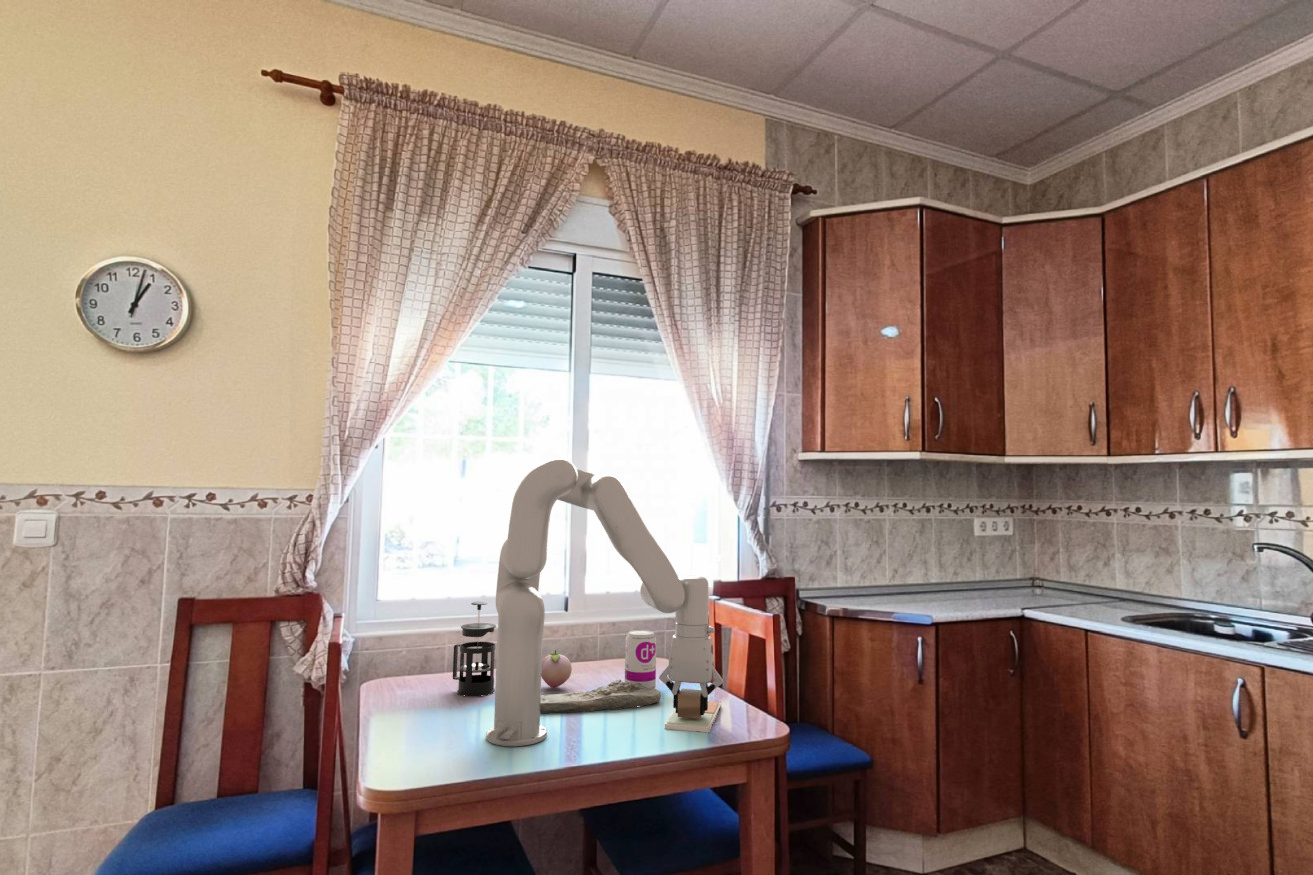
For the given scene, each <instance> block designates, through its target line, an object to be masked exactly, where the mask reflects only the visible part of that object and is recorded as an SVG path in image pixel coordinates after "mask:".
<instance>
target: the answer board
mask: <svg viewBox="0 0 1313 875" xmlns="http://www.w3.org/2000/svg"><path fill="white" fill-rule="evenodd" d="M720 706H721V707H722V702H719V701H710V700H708V710H707V711H705V713H704V715H701V717H700V719H695V718H683V717H678V713H676V708H674V709H673V711H672V713H671V714H670V715H669V716H668V718H667V720H666V721H665V722H664V729H665V730H675V731H685V732H687V731H689V732H696V731H701V732H700V733H708V732H709V733H710V732H711V730H712V728H713V726H712V724H713V725H714V723H715V721H714V720H716V719H717V717H716V715H717V713H718V710H719V708H720ZM720 709H721V708H720ZM718 714H719V713H718ZM717 716H718V715H717ZM715 718H716V719H715ZM713 722H714V723H713ZM711 727H712V728H711ZM710 729H711V730H710Z"/></svg>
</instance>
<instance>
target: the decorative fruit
mask: <svg viewBox="0 0 1313 875" xmlns="http://www.w3.org/2000/svg"><path fill="white" fill-rule="evenodd" d="M572 671H573V667H572V663H571V660H570V659H569V658H568V657H567V656H566V655H563V654H560V653H558V652H557V650H554V652H550V653H549V654H548V655H546V656H545V657H543V658H542V668H541V680H543V682H545V684H546V685H547V686H548V687H550V688H552V689H553V690H554V689H556V688H558V687H560V686H563V684H565V683H566V682H567V681H568V680H569V678H570V677H571V675H572Z"/></svg>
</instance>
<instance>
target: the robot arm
mask: <svg viewBox="0 0 1313 875" xmlns="http://www.w3.org/2000/svg"><path fill="white" fill-rule="evenodd" d="M557 500H558V501H559V502H564V503H567V504H570V505H573V506H576V507H580V508H583V509H587V510H590V511H593V512H594V513H595V515H596V517H597V519H598V521H599V522H600V524H601V526H602V527H603V529H604V531H605V533H606V534H607V537H608V539H609V540H610V542H611V544H612V546H613V548H614V549H615V550H616V552H617V553H618V554H619V555H620V556H621V557H622V558H623V559H624V561H626V562H627V563H628V564H629V565H630V566H631V567H632V568H633V570H634V571H635V573H636V574H637V576H638V577H639V578H640V580H641V581H642V582H641V585H640V591H639V592H640V597H641V600H643V602H644V603H646V604H647V606H649V607H650V608H653V609H655V610H657V611H659V612H661V613H664V614H672V613H675V619H674V620H675V622H674V624H675V625H674V626H675V631H674V632H675V633H674V634H673V635H672V638H671V643H670V648H669V656H668V665H667V667H666V668H664V670H663V671H662V673H661V674H660V675H659V677H658V678H659V680H660V681H661V682H662V683H663V684H665V685H666V687H667V688H668V690H669V691H670V692H671V694H672V695H673V702H672V703H673V705H672V706H673V707H672V708H673V709H675V708H676V713H678V693H679V692H680V691H681V689H680V688H681V685H682V683H687V684H689V683H690V684H699V687H700V690H701V691H702V696H701V702H700V715H704V713H705V711H707V710H708V701H709V695H710V694H711V693H712V692H713V691H714V690H716V689H717V688H718V687H720V685H722V684H723V683H724V679H723V678H722V676H721V674H720V673H718V671H717V670H716V668H715V657H714V655H715V654H714V645H713V638H712V636H710V634H715V627H714V626H711V625H710V623H709V581H708V579H707V578H706V577H705V576H700V575H683V576H678V574H677V572H676V570H675V569H674V567H673V565H672V563H671V562H670V560H669V558H668V557H667V555H666V554H665V552H664V551H663V550H662V548H661V547H660V545H659V544H658V542H657V541H656V539H655V538H654V537H653V535H652V534H651V533H650V531H649V529H648V528H647V526H646V523H644V521H643V519H642V517H641V515H640V514H639V512H638V510H637V508H636V506H635V504H634V502H633V500H632V499H631V497H630V495H629V493H628V492H627V490H626V488H625V486H624V484H623V483H622V481H620V480H619V479H618V478H617V477H616V476H614V475H610V474H596V473H592V472H589V471H586V470H582V469H579V468H577V467H576V466H575V465H574V464H573V462H572V461H570V460H568V459H565V458H559V457H558V458H557V457H556V458H552V459H549V460H547V461H545V462H543V463H542V464H539V465H538V466H536V467H535V468H533V469H532V470H531V471H529V472H528V473H527V474H526V475H525V477H523V479H522V480H521V482H520V483H519V485H518V486H517V489H516V491H515V493H514V495H513V499H512V504H511V509H510V510H511V511H510V517H509V518H510V519H509V524H508V533H507V539H505V541H504V543H503V544H502V547H501V549H500V554H499V560H498V568H497V569H498V570H497V578H496V579H497V581H496V591H495V608H496V611H497V615H498V617H497V618H498V620H497V621H498V623H497V624H498V625H497V638H496V640H497V641H496V657H495V661H496V662H495V663H496V664H495V665H496V666H495V686H494V690H495V691H494V693H495V694H494V718H493V726H492V727H491V728H489V729H488V730H487V731H486V734H485V737H486V740H487V742H488V743H490V744H493V745H497V746H501V747H502V746H503V747H523V746H524V747H525V746H529V745H530V746H531V745H533V744H534V745H535V744H537V743H539V742H542V741H544V739H546V738H547V735H548V730H547V728H546V727H545V726H543V725H541V724H540V723H541V713H540V699H541V695H542V694H541V693H542V692H541V691H542V677H541V668H542V660H543V657H542V655H543V637H544V636H543V635H544V627H545V619H546V616H545V615H546V612H545V611H546V610H545V609H546V608H545V603H544V600H543V598H542V595H541V594H540V592H539V590H540V589H539V588H540V578H541V576H540V575H541V573H542V571H543V570H544V569H545V568H544V567H545V566H546V564H547V555H548V540H549V538H548V536H549V527H550V519H551V512H552V509H553V507H554V505H555V503H556V502H557ZM712 679H714V681H713V682H712V683H711V681H712ZM709 683H710V684H709Z"/></svg>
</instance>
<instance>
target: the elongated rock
mask: <svg viewBox="0 0 1313 875" xmlns="http://www.w3.org/2000/svg"><path fill="white" fill-rule="evenodd" d="M661 697H662V693H661V691H659V689H656V688H655V689H652V688H646V687H644V686H642V685H640V684H632V683H631V682H627V683H625V681H622V679H616V680H613V681H611V682H610V683H609V684H608V685H606V686H600V687H598V688H596V689H592V690H589V691H588V690H587V691H585V692H584V691H576V692H574V691H573V692H566V693H553V694H541V699H540V714H541V713H543V714H545V713H547V714H549V713H551V714H552V713H554V714H556V713H559V714H560V713H563V714H565V713H567V714H568V713H573V712H575V713H583V712H594V711H600V710H609V709H610V710H620V709H619V708H622V709H626V708H638V707H637V706H642V707H643V706H647V705H653V704H655V703H659V702H660V701H661V699H662V698H661Z"/></svg>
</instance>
